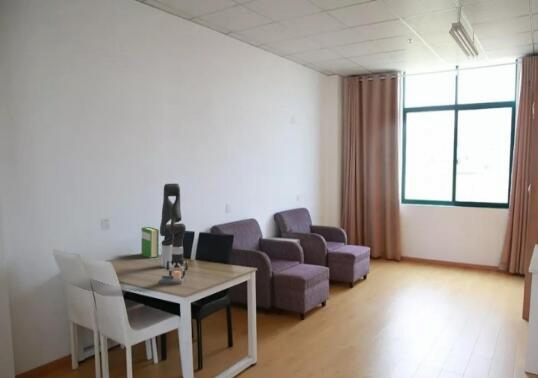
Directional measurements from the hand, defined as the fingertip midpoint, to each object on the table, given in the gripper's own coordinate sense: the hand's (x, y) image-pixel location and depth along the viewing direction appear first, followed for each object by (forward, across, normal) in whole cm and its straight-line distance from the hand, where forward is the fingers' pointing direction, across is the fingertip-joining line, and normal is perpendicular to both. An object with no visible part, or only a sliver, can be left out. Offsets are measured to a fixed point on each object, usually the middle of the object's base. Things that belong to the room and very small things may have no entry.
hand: (177, 276), depth 269 cm
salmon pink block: (+4, 0, 0) cm, 4 cm away
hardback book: (+4, +41, -75) cm, 86 cm away
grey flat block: (+4, +4, 0) cm, 6 cm away
